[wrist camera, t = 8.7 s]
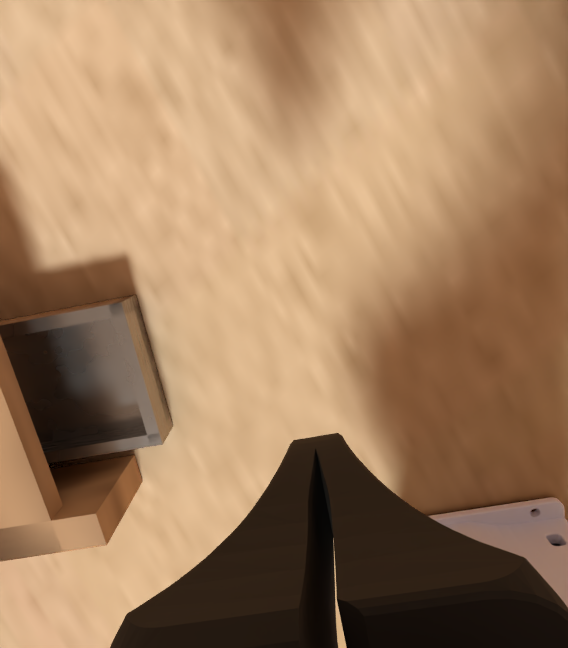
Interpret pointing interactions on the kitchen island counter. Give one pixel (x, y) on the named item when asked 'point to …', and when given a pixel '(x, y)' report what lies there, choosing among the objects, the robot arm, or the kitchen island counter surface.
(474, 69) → the kitchen island counter surface
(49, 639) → the kitchen island counter surface
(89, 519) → the overhang
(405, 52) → the kitchen island counter surface
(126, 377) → the tray
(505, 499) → the kitchen island counter surface
